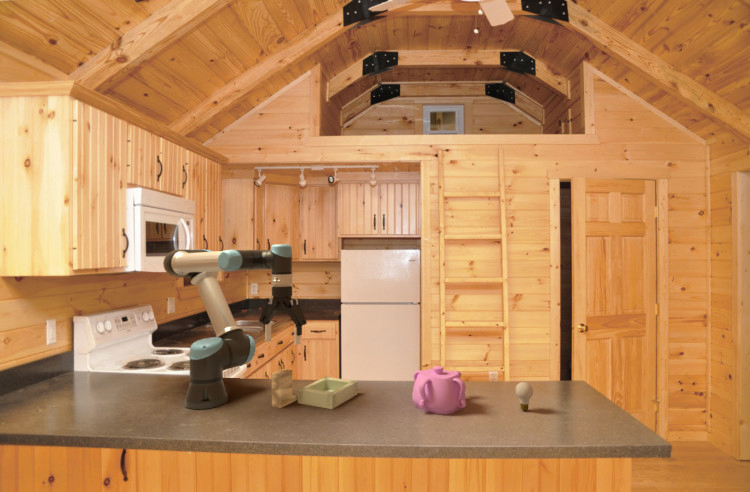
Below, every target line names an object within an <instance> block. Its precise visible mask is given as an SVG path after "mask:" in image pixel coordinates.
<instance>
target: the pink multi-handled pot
mask: <svg viewBox="0 0 750 492" xmlns="http://www.w3.org/2000/svg"><path fill="white" fill-rule="evenodd" d="M461 377H462V373H461V372H460V371H458V370H454V371H452V370H447V369H444V367H443V366H441V365H437V366H436V365H435V366H433V367H432V368H429V369H425V370H421V369H420V370H416V371H415V372H414V374H413V381H414V384H413V388H412V395H411V397H412V398H411V399H412V402H413V405H414V406H415V407H416V408H418V409H419V410H421V411H424V412H427V413H431V414H437V415H445V416H446V415H452V414H454V413H456V412H458V411H460V410H461V409H465V408H466V406H467V402H466V390H467V387H466V384H465V382H464V380H463V379H461Z"/></svg>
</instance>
